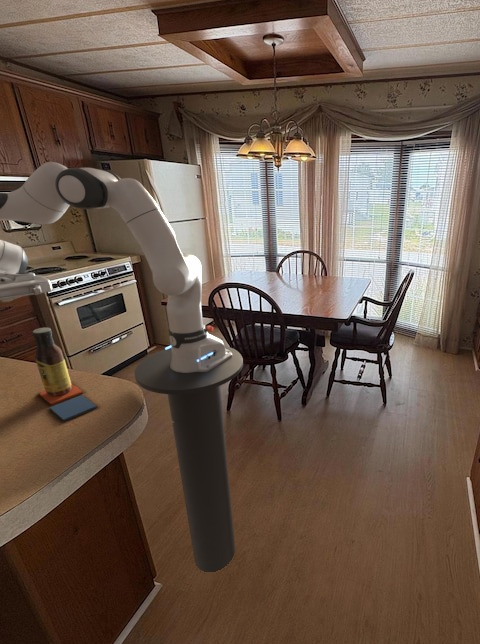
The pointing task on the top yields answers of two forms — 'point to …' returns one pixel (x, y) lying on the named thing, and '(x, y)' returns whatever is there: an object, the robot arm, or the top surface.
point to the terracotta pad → (56, 399)
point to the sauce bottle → (51, 363)
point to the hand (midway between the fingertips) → (17, 295)
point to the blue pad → (73, 407)
